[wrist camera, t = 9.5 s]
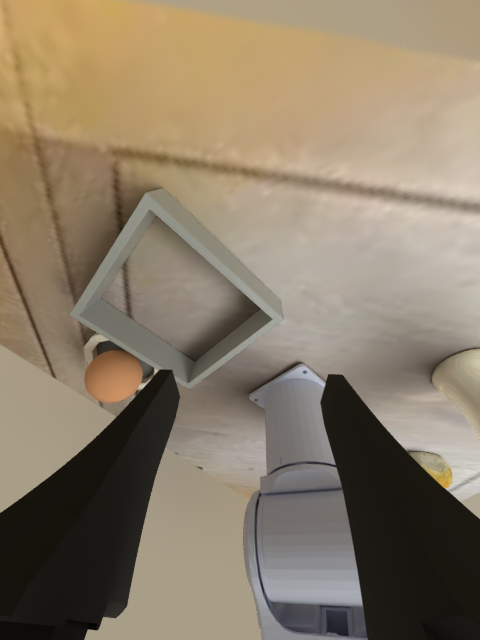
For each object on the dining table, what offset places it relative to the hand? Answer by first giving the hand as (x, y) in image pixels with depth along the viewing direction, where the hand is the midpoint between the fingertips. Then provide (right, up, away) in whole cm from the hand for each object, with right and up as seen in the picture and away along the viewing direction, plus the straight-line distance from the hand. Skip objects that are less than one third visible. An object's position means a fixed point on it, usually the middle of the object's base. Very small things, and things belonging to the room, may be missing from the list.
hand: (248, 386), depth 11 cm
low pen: (-5, +5, +10) cm, 12 cm away
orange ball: (-13, -2, +12) cm, 17 cm away
